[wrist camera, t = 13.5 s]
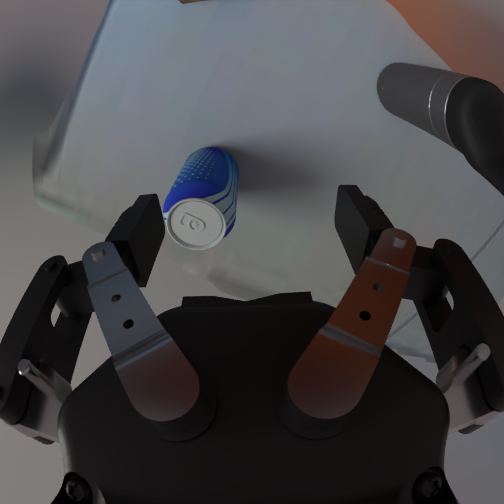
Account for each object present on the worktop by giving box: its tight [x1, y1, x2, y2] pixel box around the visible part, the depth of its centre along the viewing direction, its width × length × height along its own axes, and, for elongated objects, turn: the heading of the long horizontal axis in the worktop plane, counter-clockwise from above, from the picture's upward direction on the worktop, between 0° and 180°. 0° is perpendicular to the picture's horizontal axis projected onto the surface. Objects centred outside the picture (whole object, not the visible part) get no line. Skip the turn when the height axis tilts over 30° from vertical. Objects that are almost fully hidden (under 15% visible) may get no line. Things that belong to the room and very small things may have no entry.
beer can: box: [163, 147, 239, 250], centre depth 36 cm, size 8×8×16 cm
